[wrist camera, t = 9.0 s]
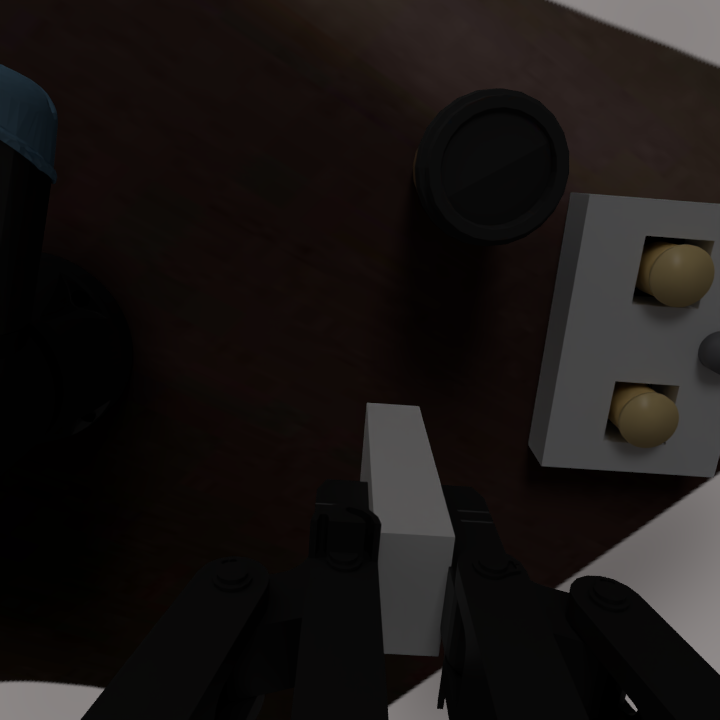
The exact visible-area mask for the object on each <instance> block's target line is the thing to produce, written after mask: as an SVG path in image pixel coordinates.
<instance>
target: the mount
mask: <svg viewBox="0 0 720 720" xmlns="http://www.w3.org/2000/svg"><path fill="white" fill-rule="evenodd" d="M646 236H656V237H670V238H683V239H685V242H684V244H688V245H693V246H697V247H700V248H702V249H703V250H705V251H706V252H707V253H708V254H709V255H710V257H711V259H712V261H713V264H714V270H715V273H714V280H713V283H712V285H711V287H710V289H709V291H708V292H707V293H706V294H705V295H704V296H703V297H702V298H701V299H700V300H699V301H697V302H696V303H694V304H692V305H689V306H685V307H671V306H668V305H665V304H663V303H661V302H660V301H658V300H657V299H656V298H655V297H646V296H633V294H634V290H635V285H636V280H637V275H638V270H639V266H640V261H641V256H642V251H643V246H644V242H645V237H646ZM615 381H618V382H632V383H646V384H652V388H651V389H652V390H654V391H655V392H656V393H660V394H663V395H665V396H666V397H668V398H669V399H670V400H672V401H673V402H674V404H675V405H676V407H677V409H678V412H679V422H678V426H677V428H676V430H675V432H674V434H673V435H672V436H671V437H670V438H669V439H668V440H667V441H666V442H664V443H662V444H660V445H658V446H656V447H652V448H640V447H636V446H634V445H632V444H630V443H629V442H627V441H626V440H625V438H624V437H623V436H622V435H621V433H620V431H619V429H618V428H617V427H616V426H615V425H614V424H613V423H607V419H608V415H609V410H610V405H611V400H612V395H613V391H614V386H615ZM528 445H529V447H530V449H531V450H532V452H533V453H534V455H535V457H536V458H537V460H538V461H539V463H540V465H541V466H548V467H563V468H578V469H594V470H609V471H624V472H640V473H655V474H670V475H686V476H701V477H714V474H715V470H716V467H717V463H718V459H719V456H720V204H713V203H701V202H688V201H675V200H662V199H649V198H636V197H623V196H611V195H598V194H585V193H572V192H571V194H570V200H569V206H568V212H567V218H566V224H565V230H564V236H563V241H562V247H561V253H560V259H559V265H558V271H557V277H556V283H555V289H554V295H553V301H552V306H551V312H550V318H549V324H548V330H547V336H546V342H545V348H544V354H543V360H542V365H541V371H540V377H539V383H538V389H537V395H536V401H535V407H534V413H533V419H532V425H531V430H530V436H529V442H528Z"/></svg>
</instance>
